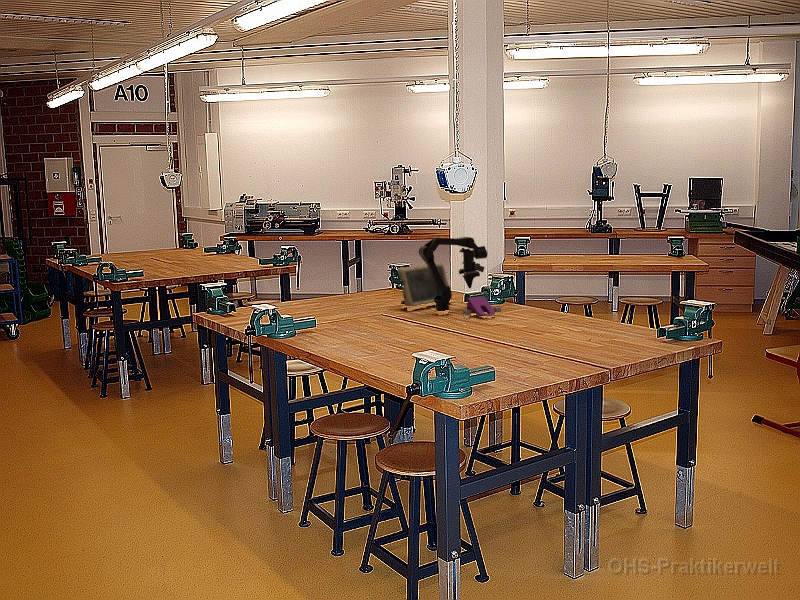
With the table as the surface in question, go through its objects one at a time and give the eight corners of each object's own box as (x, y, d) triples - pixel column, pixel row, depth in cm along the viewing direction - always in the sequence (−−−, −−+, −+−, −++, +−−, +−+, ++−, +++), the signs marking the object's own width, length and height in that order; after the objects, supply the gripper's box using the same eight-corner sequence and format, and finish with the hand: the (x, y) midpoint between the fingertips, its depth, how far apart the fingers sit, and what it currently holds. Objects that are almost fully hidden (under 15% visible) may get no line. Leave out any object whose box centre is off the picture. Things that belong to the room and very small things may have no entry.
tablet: (414, 312, 459) (411, 268, 455) (397, 310, 469) (394, 267, 465) (454, 304, 480) (452, 261, 477) (437, 302, 491) (435, 260, 487)
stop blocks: (465, 318, 430) (465, 311, 430) (463, 317, 433) (463, 310, 433) (501, 315, 435) (500, 307, 434) (499, 314, 438) (498, 306, 437)
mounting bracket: (495, 328, 432) (481, 309, 446) (497, 315, 427) (484, 296, 441) (478, 330, 429) (465, 311, 443) (481, 316, 424) (468, 298, 438)
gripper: (488, 260, 441) (489, 289, 443) (477, 257, 459) (478, 285, 461) (468, 261, 438) (470, 290, 441) (458, 259, 456) (459, 286, 459)
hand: (469, 288), depth 450 cm, fingers closed
